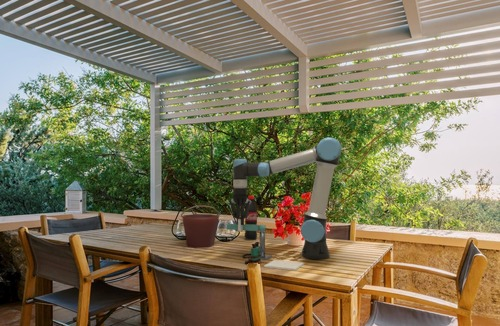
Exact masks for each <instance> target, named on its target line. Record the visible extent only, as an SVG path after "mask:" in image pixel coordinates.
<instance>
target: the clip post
mask: <svg viewBox="0 0 500 326" xmlns="http://www.w3.org/2000/svg"><path fill="white" fill-rule="evenodd" d="M259 246H260V251H261V258H260V260H261V261H262V260H263V261H268V260H269V259H271V258H272V257H273V255H271V254H266V231H259Z"/></svg>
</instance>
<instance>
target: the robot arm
mask: <svg viewBox="0 0 500 326" xmlns="http://www.w3.org/2000/svg"><path fill="white" fill-rule="evenodd" d="M341 154H342V146H341V142H339V140H338V139H336V138H335V137H324V138H323V139H321V140H320V141H319V142H318V144H317V145H314V146H313V147H312V148H310V149H307V150H302V151H300V152H296V153H293V154H289V155H286V156H282V157H279V158H275V159H273V160H269V161H265V162H263V161H262V162H248V160H247V159H245V158H235V159H233V165H232V170H233V171H232V176H233V177H232V179H233V180H232V182H233V185H232V186H233V188H232V190H233V191H232V192H233V195H232V199H229V200H228V202H229V204H230V207H231V214H232V218H234V219H236V224H237V225H238V230H237V231H238V232H239V233H240V232H243V231H244V230H243V225H244V224H245V218H247V216H248V212H249V207H250V204H251V202H252V201H251V200H249V199H248V177H250V178H251V177H253V178H254V177H258V178H259V177H262V178H263V177H265V178H266V177H268V176H271V175H274V174H278V173H280V172H284V171H287V170H292V169H295V168H299V167H303V166H305V165H309V164H313V163H315V164H316V165H317V166H316V172H315V177H314V180H313V182H314V183H313V186H312V191H311V197H310V202H309V205H308V210H307V211H306V212H304V216H303V221H302V225H301V227H300V233H301V236H302V238H303V239H304V243H303V247H302V250H301V257H303V258H305V259H311V260H325V259H329V258H330V251H329V248H328V244H327V223H328V222H327V221H328V217H327V216H326V212H327V211H326V209H327V206H328V201H329V195H330V191H331V187H332V181H333V176H334V171H335V169H337V167H338V166H339V162H340V156H341ZM245 204H246V205H245Z"/></svg>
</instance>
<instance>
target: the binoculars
mask: <svg viewBox="0 0 500 326" xmlns="http://www.w3.org/2000/svg"><path fill="white" fill-rule="evenodd" d="M251 246H252V248H250V253H244V254H243V255H241V256H242V257H241V258H242V259H245V261H244V264H251V263H250V262H253V263H258V264H262V260H261V259H260V258H261V251H260V241H255V242H254V243H251ZM246 259H248V260H246ZM253 263H252V264H253Z"/></svg>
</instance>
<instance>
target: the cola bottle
mask: <svg viewBox="0 0 500 326" xmlns="http://www.w3.org/2000/svg"><path fill="white" fill-rule="evenodd" d="M247 197H248V199H249V200H251V201H252V202H251V204H250V207H249V212H248V216H247V218H245V219H244V224H249V225H258V224H257V223H258V207H257V205H256V203H255V196H254V195H247ZM244 231H245V232H244V238H245V240H248V241H254V240H257V238H258V231H248V230H244Z"/></svg>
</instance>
